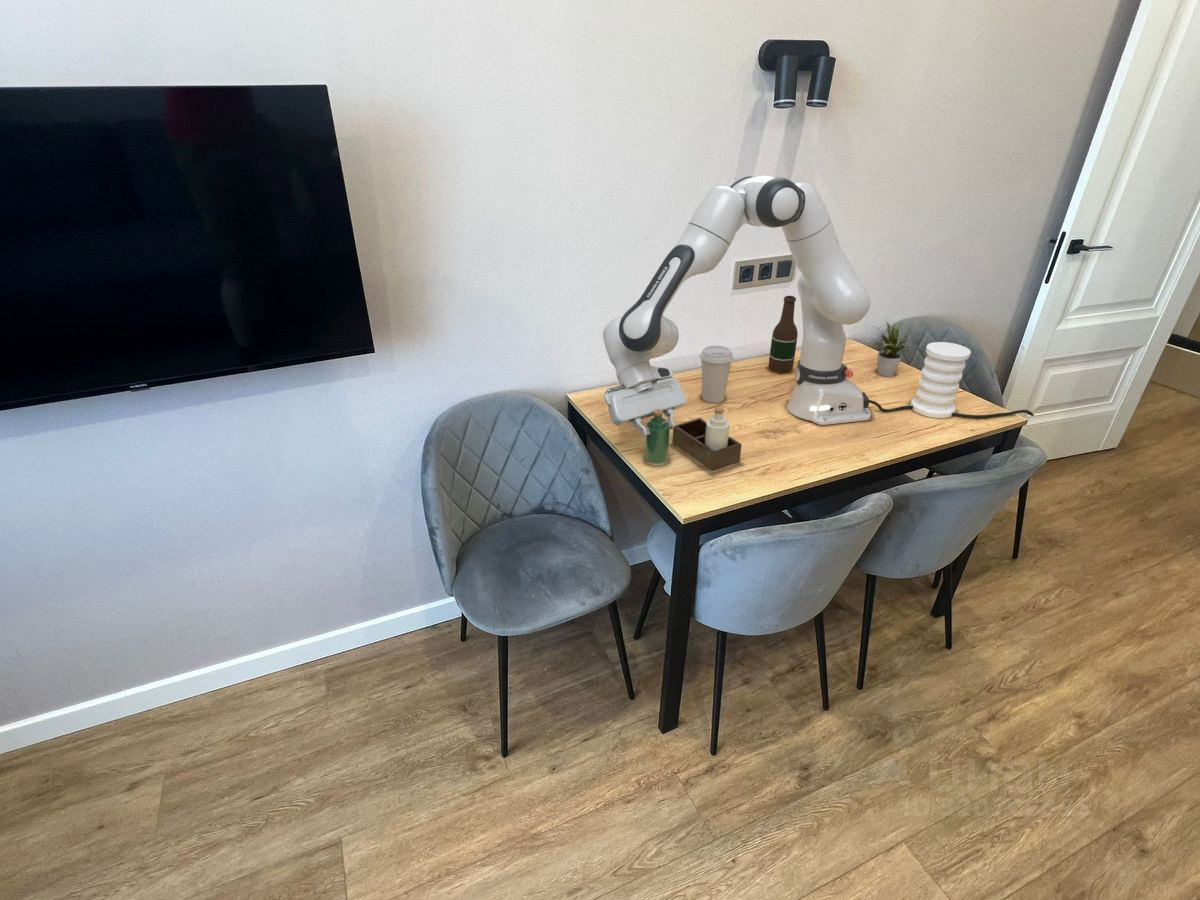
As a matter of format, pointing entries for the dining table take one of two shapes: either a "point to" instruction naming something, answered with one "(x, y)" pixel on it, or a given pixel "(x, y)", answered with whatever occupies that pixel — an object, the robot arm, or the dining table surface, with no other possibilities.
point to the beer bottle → (784, 339)
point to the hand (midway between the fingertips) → (659, 432)
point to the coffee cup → (715, 372)
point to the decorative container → (940, 379)
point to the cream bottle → (717, 430)
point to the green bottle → (657, 439)
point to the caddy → (693, 443)
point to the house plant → (890, 352)
